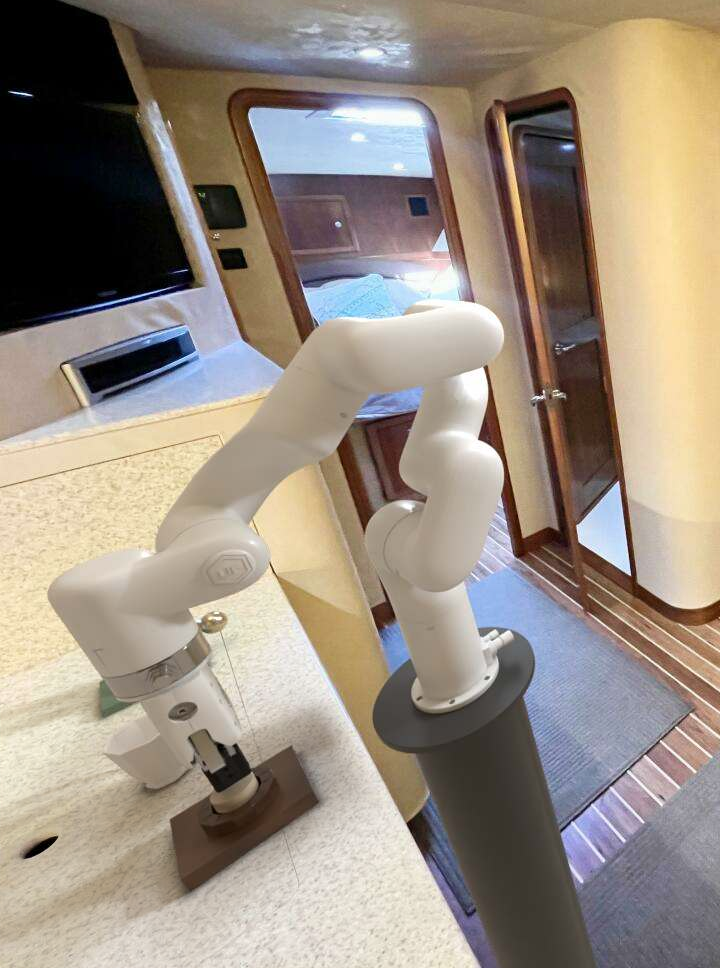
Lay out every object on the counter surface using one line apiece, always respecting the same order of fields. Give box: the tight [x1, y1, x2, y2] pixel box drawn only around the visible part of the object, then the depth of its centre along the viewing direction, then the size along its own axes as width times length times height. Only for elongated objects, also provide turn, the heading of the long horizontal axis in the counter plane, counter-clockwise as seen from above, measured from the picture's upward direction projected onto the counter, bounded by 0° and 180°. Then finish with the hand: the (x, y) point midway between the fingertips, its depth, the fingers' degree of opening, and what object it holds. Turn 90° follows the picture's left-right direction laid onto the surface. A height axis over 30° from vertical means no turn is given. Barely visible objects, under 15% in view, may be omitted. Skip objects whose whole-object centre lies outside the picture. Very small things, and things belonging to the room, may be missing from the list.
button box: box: [169, 744, 320, 893], centre depth 64 cm, size 12×10×4 cm
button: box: [210, 772, 259, 814], centre depth 63 cm, size 4×4×2 cm
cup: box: [101, 712, 189, 790], centre depth 70 cm, size 7×10×8 cm
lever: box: [195, 611, 229, 635], centre depth 87 cm, size 13×4×4 cm, turn 139°
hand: (234, 778), depth 62 cm, fingers closed
